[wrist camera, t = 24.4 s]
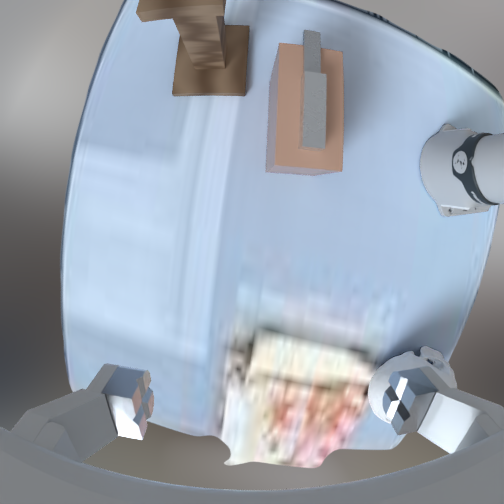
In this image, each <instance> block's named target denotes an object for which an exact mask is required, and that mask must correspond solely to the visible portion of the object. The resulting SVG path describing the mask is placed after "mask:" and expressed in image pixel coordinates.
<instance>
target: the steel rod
mask: <svg viewBox="0 0 504 504" xmlns="http://www.w3.org/2000/svg"><path fill="white" fill-rule="evenodd" d="M326 89H327V77H326V74H322V73H321V47H320V32H315V31H309V30H304V32H303V75H302V77H301V87H300V120H299V144H298V149H301V150H310V151H322V150H324V149H325V139H326Z"/></svg>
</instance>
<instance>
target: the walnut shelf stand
mask: <svg viewBox="0 0 504 504" xmlns="http://www.w3.org/2000/svg"><path fill="white" fill-rule="evenodd" d="M225 4H226V0H139V3H138V7H137V11H136V14H137V15H138V17H139V18H140V20H141V21H142V22H147V21H154V20H162V19H171V18H173V20H174V22H175V25H176V27H177V29H178V31H179V34H180V38H179V45H178V51H177V58H176V66H175V73H174V82H173V90H172V94H173V96H203V95H221V96H245V86H246V70H247V55H248V40H249V26H244V25H225V23H224V13H225Z"/></svg>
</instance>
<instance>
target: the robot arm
mask: <svg viewBox="0 0 504 504" xmlns="http://www.w3.org/2000/svg"><path fill="white" fill-rule="evenodd" d="M420 171H421V177H422V180H423V183H424V186H425V188H426V190H427V192H428V193H429V195H430V196H431V197H432V198H433V199H434V200H435V202H436V203H437V206H438V209H439V211H440V213H441V215H442V216H444V217H448V216H456V215H463V214H471V213H478V212H486V211H488V210H489V208H490V206H492V205H498V204H504V133H501V134H495V135H493V134H490V133H477V132H473V131H471V129H469V128H464V129H456V128H455V127H453V126H451V125H450V124H444V125H443V126H442V127H441V129H440V131H439V133H437V134H436V135H434V136H432V137H431V138H430V139H429V140H428V141H427V142H426V143H425V145H424V147H423V150H422V153H421V158H420ZM449 209H450V212H449ZM150 382H151V378H150V373H149V371H148V370H142V369H136V368H131V367H125V366H119V365H114V364H109V363H107V364H104V365H103V366H102V368H101V369H100V371H99V372H98V373H97V375H96V376H95V378H94V379H93V380H92V382H91V383H90V385H89V386H88V387H87V389H86V390H85V389H80V390H78V391H76V392H73V393H71V394H69V395H66V396H63V397H61V398H58V399H56V400H53V401H51V402H48V403H46V404H43V405H41V406H38V407H35V408H33V409H30V410H27V411H26V413H25V414H24V415H23V416H22V417H21V419H20V420H19V421H18V422H17V424H16V425H15V426H14V427H13V429H12V430H11V431H10V432H9V431H7V430H6V429H4V428H2V427H0V504H504V408H503V407H502V406H501V405H498V404H495V403H493V402H490V401H487V400H484V399H482V398H479V397H476V396H473V395H471V394H468V393H466V392H463V391H460V390H458V389H456V388H450V387H449V386H448V385H447V384H446V383H445V382H444V381H443V380H442V379H441V378H440V377H439V375H438V374H437V373H436V372H435V371H434V370H433V369H432V368H431V367H429V366H423V367H418V368H415V369H409V370H402V371H395V372H393V373H392V374H391V375H390V378H389V381H388V382H389V384H390V386H389V387H388V389H387V390H386V391H385V392H384V396H383V405H382V406H383V409H384V412H385V414H386V415H387V416H389V417H390V418H392V421H391V424H392V426H393V428H394V430H395V431H396V433H397V435H401V434H406V433H411V432H415V431H418V433H420V434H421V435H423V436H424V437H426V438H427V439H429V440H430V441H432V442H433V443H435V444H436V445H438V446H439V447H441V448H443V449H444V450H445V451H447V452H449V453H450V454H449V455H446V456H443V457H441V458H438V459H435V460H432V461H429V462H426V463H423V464H420V465H418V466H414V467H411V468H407V469H404V470H400V471H397V472H393V473H389V474H385V475H381V476H377V477H372V478H368V479H363V480H358V481H353V482H347V483H341V484H335V485H327V486H319V487H310V488H298V489H285V490H284V489H283V490H224V489H211V488H200V487H190V486H182V485H175V484H168V483H162V482H157V481H151V480H146V479H141V478H137V477H132V476H128V475H124V474H120V473H116V472H112V471H108V470H105V469H101V468H98V467H95V466H91V465H88V464H85V463H82V462H83V461H84V460H86V459H87V458H88V457H90V456H91V455H93V454H94V453H96V452H97V451H98V450H100V449H101V448H103V447H104V446H105V445H107V444H108V443H109V442H111V441H112V440H114V439H115V438H117V436H118V435H119V436H124V437H130V438H135V439H141V440H142V439H143V437H144V434H145V431H146V428H147V422H146V420H147V419H148V418H150V417H151V415H152V412H153V406H154V396H153V391H152V390H151V389H150V388H149V384H150Z"/></svg>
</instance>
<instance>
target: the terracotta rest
mask: <svg viewBox="0 0 504 504" xmlns="http://www.w3.org/2000/svg"><path fill="white" fill-rule="evenodd" d="M321 73H322V74H326V77H327V89H326V139H325V149H324V150H322V151H310V150H301V149H298V144H299V120H300V87H301V77H302V75H303V45H296V44H287V43H279V46H278V50H277V54H276V58H275V62H274V66H273V70H272V74H271V78H270V86H269V109H268V131H267V152H266V172H270V173H285V174H298V175H310V176H316V175H322V174H329V173H336V172H342V166H343V136H344V81H343V53H342V52H340V51H335V50H329V49H324V48H321Z"/></svg>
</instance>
